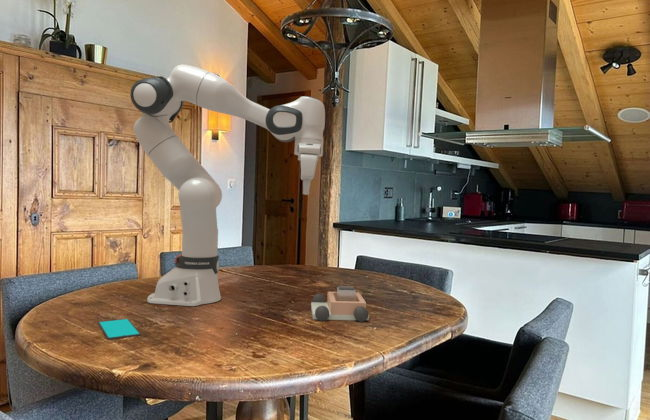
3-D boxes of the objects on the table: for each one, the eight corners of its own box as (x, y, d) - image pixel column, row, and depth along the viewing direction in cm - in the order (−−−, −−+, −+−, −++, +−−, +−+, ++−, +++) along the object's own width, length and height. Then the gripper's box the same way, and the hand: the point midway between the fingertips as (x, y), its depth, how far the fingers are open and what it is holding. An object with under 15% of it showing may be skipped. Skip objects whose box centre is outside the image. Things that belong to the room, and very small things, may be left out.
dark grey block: (337, 310, 137) (338, 288, 136) (336, 306, 141) (337, 285, 140) (354, 310, 137) (355, 288, 137) (352, 307, 141) (353, 285, 141)
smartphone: (127, 318, 124) (140, 333, 111) (127, 321, 124) (140, 337, 111) (97, 321, 119) (107, 338, 107) (97, 325, 119) (107, 341, 107)
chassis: (313, 320, 130) (313, 303, 129) (310, 305, 147) (311, 290, 146) (369, 322, 131) (370, 304, 131) (361, 306, 148) (361, 291, 148)
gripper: (298, 152, 154) (295, 193, 155) (298, 146, 134) (295, 194, 134) (317, 153, 154) (314, 194, 155) (320, 147, 134) (317, 195, 135)
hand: (305, 194), depth 144 cm, fingers open, 8 cm apart
